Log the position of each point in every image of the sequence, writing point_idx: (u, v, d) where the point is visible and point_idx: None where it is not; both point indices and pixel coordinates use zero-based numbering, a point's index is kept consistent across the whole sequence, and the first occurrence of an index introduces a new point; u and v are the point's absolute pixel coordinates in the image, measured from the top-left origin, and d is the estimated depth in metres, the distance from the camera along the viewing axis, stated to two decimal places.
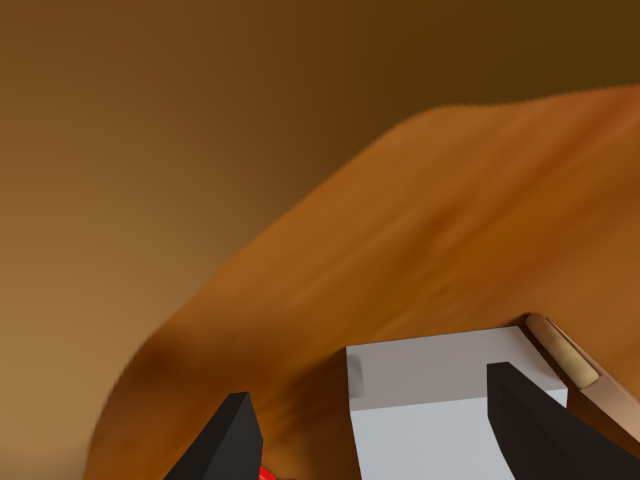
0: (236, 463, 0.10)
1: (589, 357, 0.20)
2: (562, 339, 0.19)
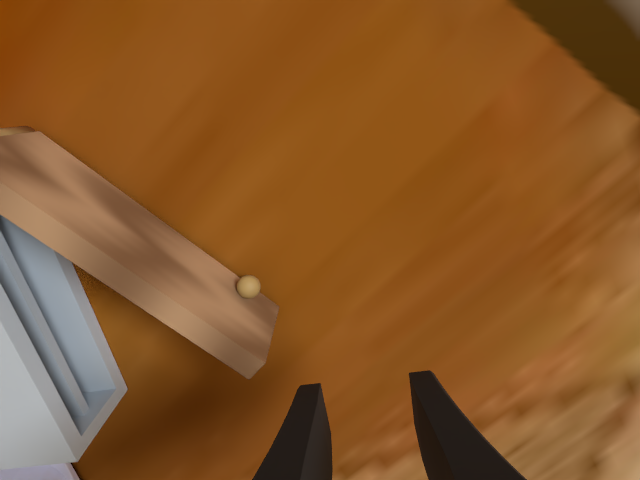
0: (319, 455, 0.10)
1: (68, 171, 0.17)
2: None
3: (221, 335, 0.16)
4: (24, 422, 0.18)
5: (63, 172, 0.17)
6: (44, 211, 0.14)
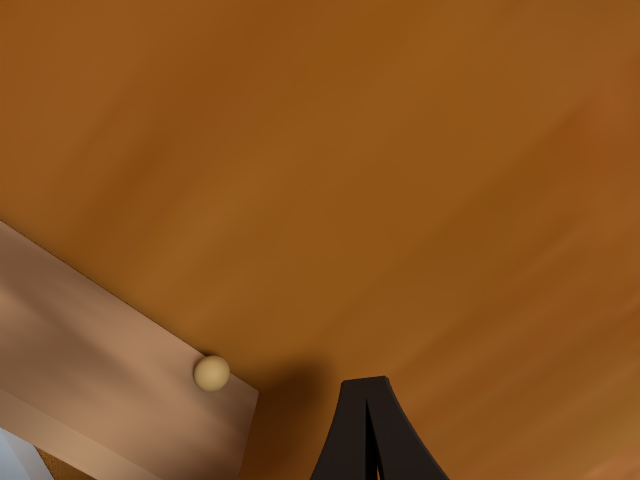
0: (370, 450, 0.10)
1: None
2: None
3: (156, 479, 0.10)
4: None
5: None
6: None
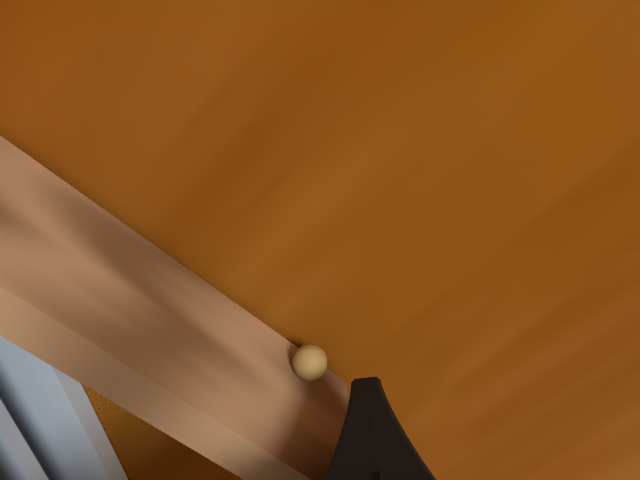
0: None
1: (37, 194, 0.11)
2: None
3: (285, 467, 0.10)
4: None
5: (28, 196, 0.10)
6: None
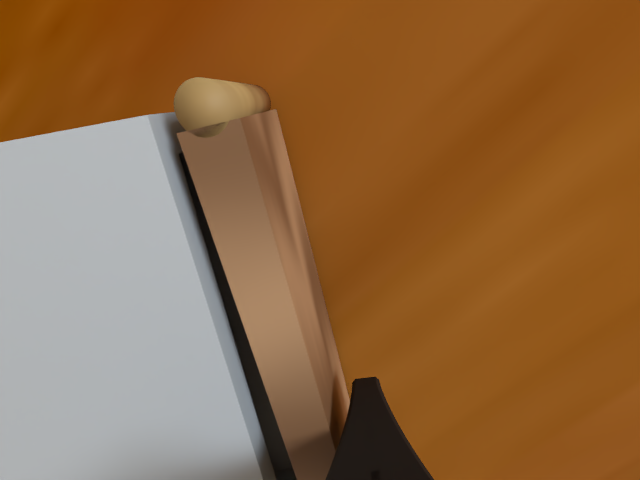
0: None
1: (292, 203, 0.11)
2: (248, 89, 0.09)
3: None
4: None
5: (291, 205, 0.10)
6: (293, 303, 0.08)
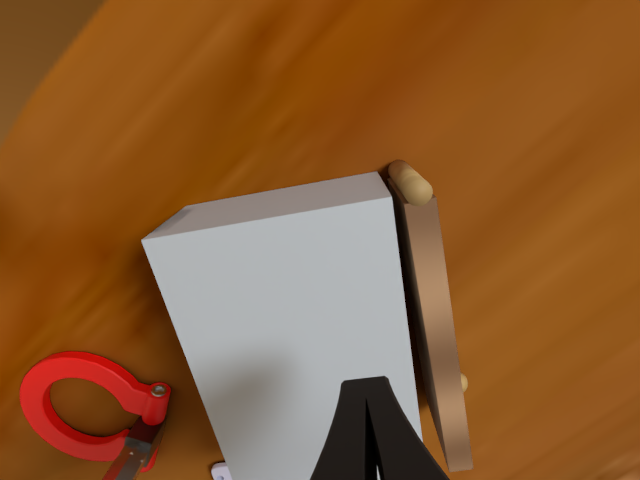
0: (370, 450, 0.10)
1: None
2: (416, 172, 0.16)
3: (467, 436, 0.18)
4: None
5: None
6: None
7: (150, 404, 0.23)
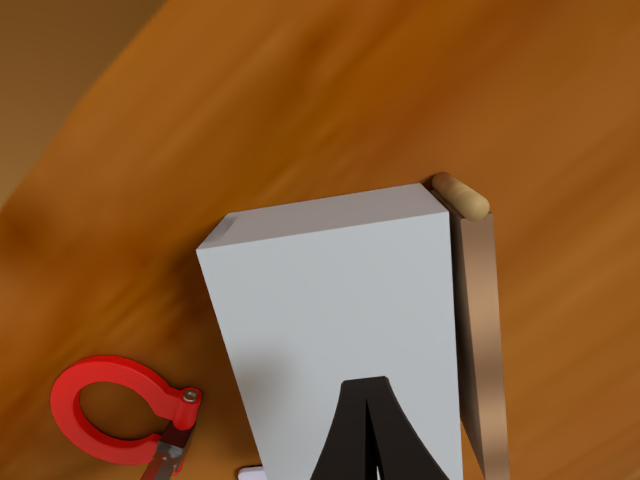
0: (370, 450, 0.10)
1: None
2: None
3: (506, 446, 0.18)
4: (429, 450, 0.19)
5: None
6: (497, 300, 0.16)
7: (182, 409, 0.23)
